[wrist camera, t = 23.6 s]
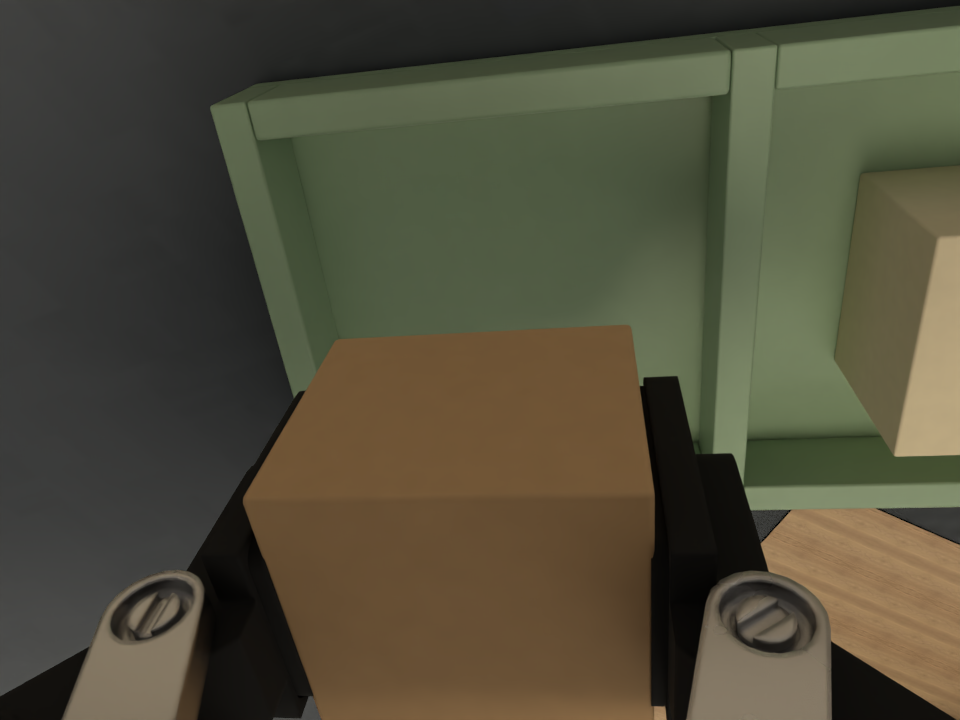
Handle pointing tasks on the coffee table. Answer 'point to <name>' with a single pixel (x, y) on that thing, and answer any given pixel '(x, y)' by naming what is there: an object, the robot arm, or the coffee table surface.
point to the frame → (617, 219)
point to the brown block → (467, 527)
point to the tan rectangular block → (905, 308)
